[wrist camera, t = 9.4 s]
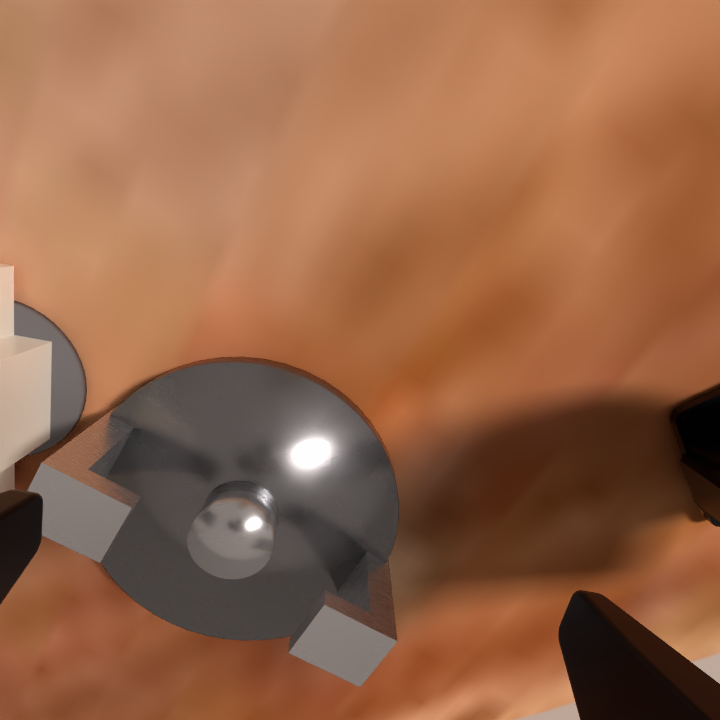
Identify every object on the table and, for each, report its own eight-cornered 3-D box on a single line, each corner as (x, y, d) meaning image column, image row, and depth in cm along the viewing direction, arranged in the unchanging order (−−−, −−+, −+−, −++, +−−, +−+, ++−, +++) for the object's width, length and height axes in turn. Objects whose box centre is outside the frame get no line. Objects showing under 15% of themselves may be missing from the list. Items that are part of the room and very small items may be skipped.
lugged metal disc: (44, 543, 22) (-46, 636, 17) (178, 294, 19) (115, 316, 14) (299, 664, 24) (286, 777, 19) (456, 458, 21) (488, 529, 16)
